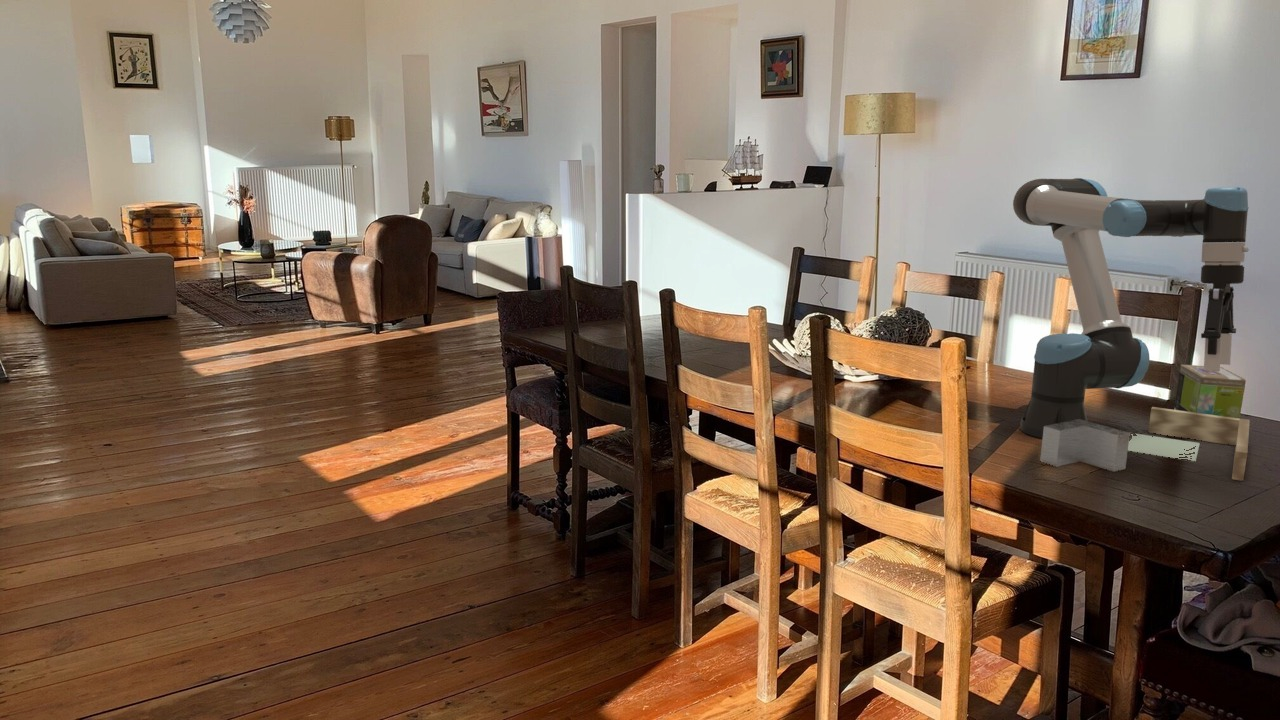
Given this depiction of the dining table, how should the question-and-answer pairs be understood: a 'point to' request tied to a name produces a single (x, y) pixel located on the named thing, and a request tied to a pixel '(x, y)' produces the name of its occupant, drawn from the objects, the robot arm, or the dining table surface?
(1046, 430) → the bracket
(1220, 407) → the tea box
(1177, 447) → the mat
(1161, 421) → the wooden corner fence
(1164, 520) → the dining table surface
